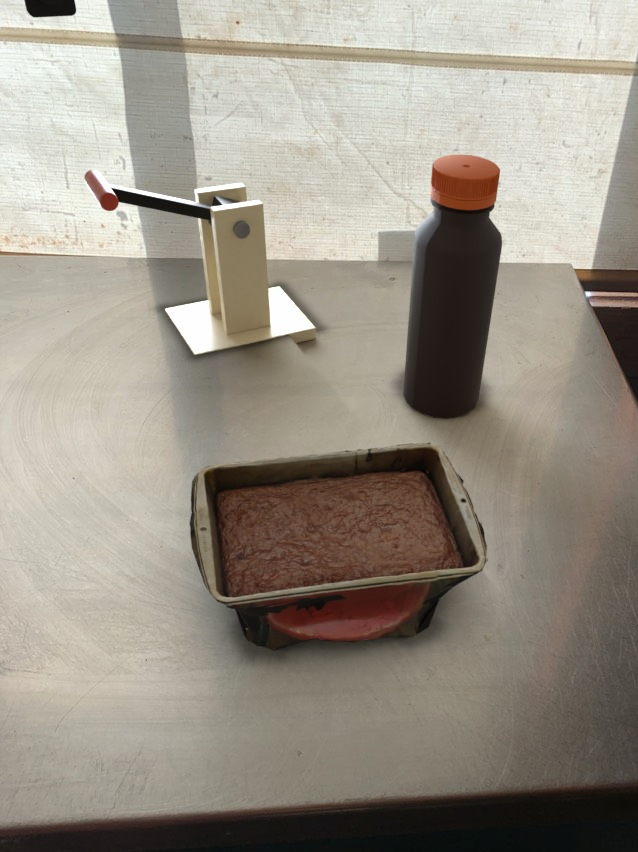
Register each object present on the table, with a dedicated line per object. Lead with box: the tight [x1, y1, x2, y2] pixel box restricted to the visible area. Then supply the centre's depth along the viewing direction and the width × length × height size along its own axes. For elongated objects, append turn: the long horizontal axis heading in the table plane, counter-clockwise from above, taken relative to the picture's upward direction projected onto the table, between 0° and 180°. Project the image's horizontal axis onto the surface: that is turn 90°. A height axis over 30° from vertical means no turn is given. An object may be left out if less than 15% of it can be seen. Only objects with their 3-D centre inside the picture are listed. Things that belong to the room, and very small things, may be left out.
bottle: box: [402, 154, 503, 419], centre depth 64 cm, size 7×7×20 cm
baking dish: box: [189, 442, 488, 651], centre depth 52 cm, size 14×18×10 cm
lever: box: [83, 169, 241, 226], centre depth 66 cm, size 13×5×2 cm, turn 119°
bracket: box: [164, 182, 317, 356], centre depth 72 cm, size 12×9×13 cm
